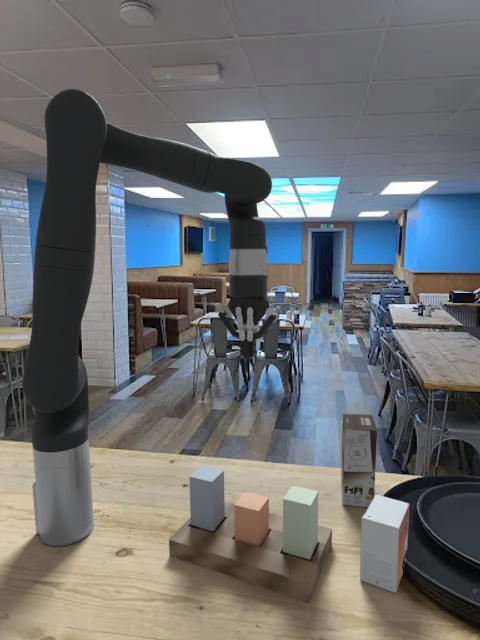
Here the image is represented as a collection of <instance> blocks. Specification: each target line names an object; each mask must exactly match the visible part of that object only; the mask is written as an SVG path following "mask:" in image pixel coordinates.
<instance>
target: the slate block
mask: <svg viewBox="0 0 480 640" xmlns="http://www.w3.org/2000/svg"><path fill="white" fill-rule="evenodd" d="M224 501H225V470H224V469H220V468H216V467H210V466H206V465H201V466H200V467H199V468H198V469H196V471H194V472H193V473H191V475H189V502H190V504H189V507H190V509H189V511H190V517H191V525H193V526H197V527H200V529H203V530H204V529H205V530H208V531H210V532H214V531H215V530H216V529H215V528H216V527H217V526H218V525H219V524H220V522H221V521H222V520H223V519H224V518H225V505H224Z"/></svg>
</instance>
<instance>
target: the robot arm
mask: <svg viewBox="0 0 480 640" xmlns="http://www.w3.org/2000/svg"><path fill="white" fill-rule="evenodd" d="M44 110H45V111H44V112H45V113H44V130H45V137H46V179H45V180H46V181H45V188H44V192H43V196H42V200H41V201H42V202H41V207H40V211H39V217H38V222H37V230H36V236H35V246H34V247H35V248H34V258H33V259H34V261H33V279H32V281H33V282H32V284H33V285H32V305H31V306H32V311H31V312H32V315H31V316H32V321H31V323H32V325H31V334H30V341H29V345H28V350H27V351H28V352H27V354H26V355H27V357H26V361H25V365H24V366H25V367H24V371H23V375H22V383H21V384H22V392H23V394H24V397H25V400H26V401H27V403H28V404H29V405H30V406H31V407H32V408H33V409H35V411H34V421H33V424H32V425H33V427H32V430H31V443H32V459H33V466H34V467H33V468H34V469H33V470H34V479H35V481H34V482H33V484H32V485H31V487H32V497H33V498H32V499H33V511H34V525H35V533H36V534H38V535H39V539H40V540H41V542H42V543H43V544H44V545H45V544H46V545H48V546H51V547H52V546H53V547H59V546H60V547H61V546H68V545H71V544H74V543H76V542H79V541H81V540H83V539H84V538H86V537H87V536H89V534H91V532H92V531H93V530H94V526H95V523H94V522H95V521H94V509H93V508H94V505H93V489H92V474H91V473H92V471H91V457H90V444H89V443H90V439H89V421H90V407H89V406H90V401H89V380H88V371H87V367H86V365H85V363H84V361H83V359H82V358H81V357H80V356H79V340H80V332H81V330H80V329H81V325H82V322H83V318H84V315H85V312H86V311H85V310H86V308H87V304H88V300H89V297H90V292H91V289H92V283H93V277H94V271H95V270H94V269H95V259H96V246H97V245H96V240H97V239H96V237H97V203H96V201H97V200H96V198H97V197H96V190H97V181H98V175H99V169H100V164H106V165H109V166H110V165H111V166H116V167H121V168H125V169H129V170H133V171H136V172H139V173H144V174H147V175H151V176H153V177H156V178H159V179H162V180H165V181H167V182H171V183H174V184H177V185H180V186H184V187H186V188H189V189H191V190H192V189H193V190H195V191H197V192H198V191H199V192H203V193H208V194H209V193H210V194H211V193H219V194H223V195H224V203H225V204H224V205H225V210H226V215H227V219H228V222H229V258H228V282H229V283H228V286H229V287H228V290H229V292H228V295H229V302H228V303H227V307H226V308H225V309H224V310H223V311H220V312H218V314H217V315H218V317H219V319H220V320H221V322H222V324H223V325H224V326H225V328H226V329H227V330H228V332H229V333H230V335H231V337H233V338H236V339H239V341H240V355H241V356H242V358H243V359H245V360H252V359H254V358H255V357H254V356H256V355H257V340H258V339H261V338H264V337H265V336H266V335H267V334H268V333H269V331H270V330H271V329H272V328H273V326H274V325H275V324H276V322H277V321H278V320H279V318H280V314H279V313H278V312H277V313H276V312H274V311H273V310H271V308H270V304H269V302H268V270H269V269H268V258H267V231H266V224H265V222H264V221H263V219H261V218H260V217H259V212H258V211H259V210H258V204H260V203H262V202H264V201H265V200H266V199H267V198H268V197H269V196H270V194H271V192H272V189H273V181H272V178H271V176H270V174H269V172H268V171H267V170H266V169H265V168H264V167H263V166H260V165H259V164H258V163H253V162H251V161H248V160H243V159H238V158H233V157H232V158H231V157H226V156H220V155H217V154H215V153H213V152H210V151H207V150H204V149H202V148H199V147H195V146H193V145H190V144H187V143H184V142H180V141H177V140H171V139H168V138H167V139H166V138H161V137H160V138H159V137H153V136H149V135H143V134H138V133H135V132H133V131H130V130H126V129H123V128H121V127H119V126H116V125H114V124H113V123H110V122H108V121H107V118H106V115H105V112H104V111H103V108H102V107H101V105H100V104H99V102H98V101H97V100H96V99H95V98H94V97H93V95H91V94H89V93H88V92H86V91H84V90H81V89H78V88H67V89H64V90H62V91H60V92H58V93H57V94H55V95H54V96H53V97H52V98H51V99H50V101H49V102H48V104H47V106H46V108H45V109H44ZM233 317H234V318H233ZM262 319H264V321H265V322H263V324H262V326H261V327H260V322H261V321H262ZM235 320H236V321H235Z"/></svg>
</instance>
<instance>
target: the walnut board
mask: <svg viewBox="0 0 480 640" xmlns="http://www.w3.org/2000/svg"><path fill="white" fill-rule="evenodd" d="M234 504H235V503H232V502H230V501H225V500H224V505H225V518H224V519H223V520H222V521H221V522H220V524H219V525H218V526H217V527H216V528H215V529H214V530H215V532H214V533H213V532H211V531H210V532H209V531H205V530H204V529H203V530H202V529H201V528H200V527H197V526H193V525H191V516H190V517H189V518H188V519H187V520H186V521H185V522H184V523H183V525H181V527H179V528H178V529H177V531H175V533H174V534H173V535H172V536H171V537H169V539H168V547H169V548H168V549H169V557H172V558H174V559H178V560H181V561H184V562H188V563H190V564H193V565H195V566H199V567H202V568H205V569H208V570H211V571H213V572H217V573H219V574H223V575H226V576H229V577H232V578H235V579H238V580H241V581H243V582H246V583H250V584H253V585H256V586H259V587H261V588H264V589H267V590H271V591H273V592H276V593H280V594H283V595H286V596H289V597H291V598H295V599H298V600H300V601H304V602H307V603H310V601H311V598H312V595H313V593H314V591H315V588H316V586H317V583H318V581H319V578H320V575H321V574H322V570H323V567H324V565H325V563H326V560H327V558H328V555H329V552H330V550H331V547H332V544H333V528H331V527H327V526H323V525H319V524H318V537H317V545H316V547H315V549H314V551H313V554H312V556H311V558H313V559H312V561H308V560H304V559H302V558H301V559H300V558H297V557H295V556H291V555H289V553H286V552H283V515H279V514H276V513H272V512H269V535H268V536H267V538H266V539H265V541H264V542H263V544H262V546H261V547H257V546H254V545H250V544H247V543H244V542H240V541H237V540H235V529H234Z"/></svg>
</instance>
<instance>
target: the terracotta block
mask: <svg viewBox="0 0 480 640" xmlns="http://www.w3.org/2000/svg"><path fill="white" fill-rule="evenodd" d="M233 504H234V529H235V540H237V541H240V542H244V543H247V544H250V545H254V546H257V547H261V546H262V544H263V542H264V541H265V539H266V538H267V536H268V535H269V513H270V497H268V496H264V495H260V494H256V493H252V492H247V491H244V493H243V494H242V495H241V496H240V497H239V499H238V500H237V501H236V502H235V503H233Z"/></svg>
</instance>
